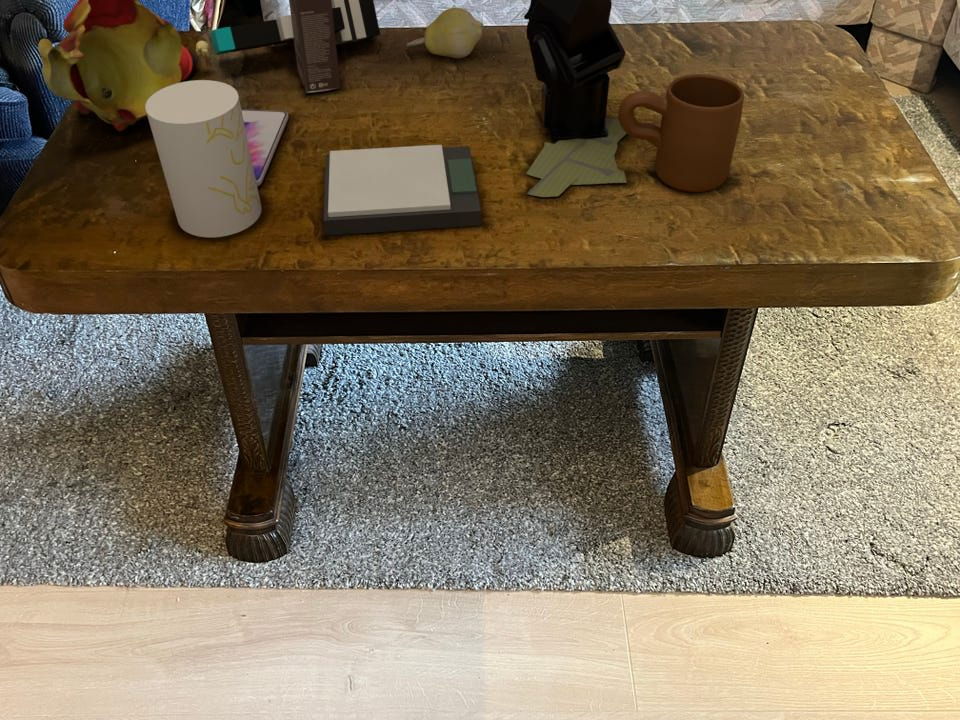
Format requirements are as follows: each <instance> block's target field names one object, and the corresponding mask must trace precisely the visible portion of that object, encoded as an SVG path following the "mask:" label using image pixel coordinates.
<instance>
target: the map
mask: <svg viewBox="0 0 960 720" xmlns="http://www.w3.org/2000/svg"><path fill="white" fill-rule="evenodd" d="M605 125H606V127H607V130H608V132H609V133H608V136H607V137H604V138H594V139H571V140H559V141H556V142H555V143H551V142H548V141H544V145H543V148H542V149H541V151H540V152H539V153H538V155H537V157H536V158H535V159H534V161H533V163H532V164H531V165H530V167H529V168H528V170H527V172H526V173H525V174H526V175H528V176H530V177H534V178H538V179H540V180H539V181H538V182H537V183H536V184H535V185H534V186H533V187H532V188H530V190H528V192H526V195H529V196H535V197H541V198H551V197H559V196H560V195H561V194H562V193H563V192H565V190H566V189H568V188H569V187H570V186H577V185H579V186H580V185H597V184H620V183H621V184H622V183H625V184H626V183H627V179H626V173H625V170H621V169H619V168H618V164H617V161H616V159H615V155H616V153H617V150H618V148H619V147H618V146H619V145H618V143H619V141H621V139H623V137H625V136H626V135H627V133H626V132H625V131H624V130H623V128H622V126H621V125H620V122H619V118H611V117H606V120H605Z"/></svg>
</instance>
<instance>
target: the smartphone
mask: <svg viewBox="0 0 960 720" xmlns="http://www.w3.org/2000/svg"><path fill="white" fill-rule="evenodd" d="M241 111H242V116H243V120H244V125H245V130H246V135H247V140H248V145H249V150H250V154H251V159H252V164H253V169H254V174H255V179H256V183H257V187H259V186H261V185H262V183H263V181H264V179H265V176H266V174H267V171H268V169H269V167H270V164H271V162H272V159H273V157H274V154H275V152H276V151H277V147H278V146H279V143H280V140H281V137H282V135H283V133H284V130H285V128H286V126H287V123H288V120H289V114H288V112H286V111H284V110H267V109H265V110H264V109H242V108H241Z"/></svg>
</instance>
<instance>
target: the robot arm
mask: <svg viewBox="0 0 960 720" xmlns="http://www.w3.org/2000/svg"><path fill="white" fill-rule="evenodd" d="M612 5H613V2H612V0H530V4H529V7H528V9H527V12H525V14H524V15H523V19H524V20H528V21H527V24H526V32H525V33H526V39H527V40H528V45H529V49H530V53H531V58H532V63H533V66H534V72H535V77H536V80H537V81H538V82H540V83H542V85H541V98H540V99H541V100H540V120H541V123H542V126H543V127H544V129H546V130H547V135H548V137H549V140H550V141H553V142H558V141H559V140H571V139H594V138H604V137H607V136H608V133H609V132H608V130H607V127H606V125H605V120H606V118H607V108H608V100H609V91H610V90H609V88H610V82H611V81H610V80H611V79H610V76H609V74H608V73H610V72H612V71H614V70H618V69H619V68H621V66H622V63H623V61H624V59H625V57H626V50H625V49H624V47H623V45H622V43H621V41H620V39H619V37H618V36H617V34H616V32H615V30H614V29H613V26H612V25H611V23H610V17H611V12H612V7H613V6H612Z"/></svg>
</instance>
